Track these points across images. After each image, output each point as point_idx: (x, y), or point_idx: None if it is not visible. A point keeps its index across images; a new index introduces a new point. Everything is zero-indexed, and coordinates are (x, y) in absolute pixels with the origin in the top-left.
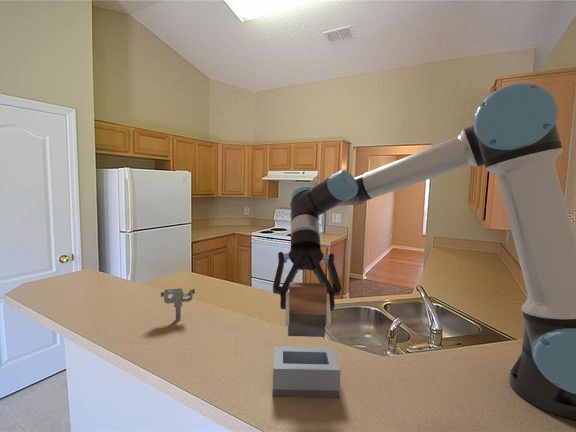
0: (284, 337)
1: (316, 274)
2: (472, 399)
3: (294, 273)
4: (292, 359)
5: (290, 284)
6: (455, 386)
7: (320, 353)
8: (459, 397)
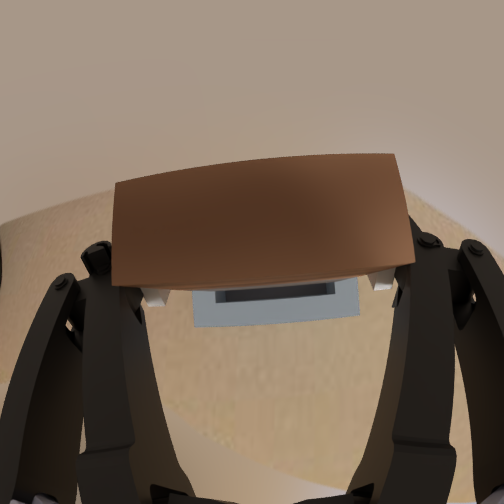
0: (322, 449)
1: (165, 444)
2: (34, 258)
3: (403, 370)
4: (306, 296)
5: (400, 201)
6: (38, 286)
7: (231, 302)
8: (43, 261)
